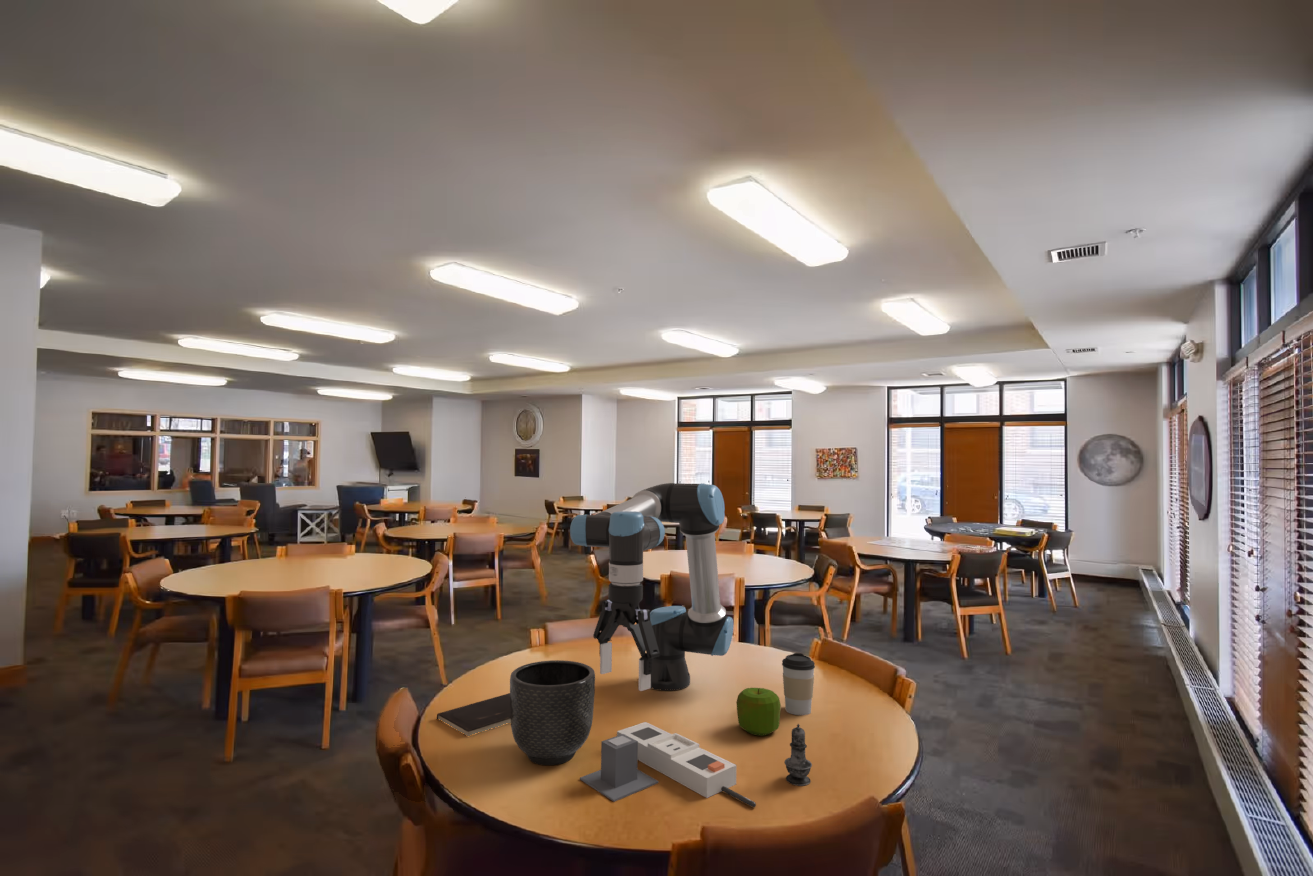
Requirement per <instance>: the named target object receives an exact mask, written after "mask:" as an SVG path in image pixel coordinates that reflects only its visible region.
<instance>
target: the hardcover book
mask: <svg viewBox="0 0 1313 876" xmlns="http://www.w3.org/2000/svg"><path fill="white" fill-rule="evenodd" d="M437 719H440V720H442V721H443V722H445V723H447V724H449V725H450V726H452V727H453V728H455V729H457V730H458V731H460V732H462V733H464V734H465V735H467V736H470V735H472V734H475V733H478V732H482V731H485V730H488V729H491V728H494V729H496V728H495V727H497V728H499V727H498V726H501V725H503V724H506V723H510V724H511V719H510V692H509V693H505V694H502V695H501V694H500V695H499V696H495V697H491V698H487V699H484V700H481V701H477V702H473V703H470V704H466V705H462V706H460V707H456V708H452V709H449V710H445V711H442V712H438V713H437V714H436V720H437ZM440 720H439V721H440ZM443 722H442V723H443ZM445 723H444V724H445ZM450 726H449V727H450ZM452 727H451V728H452ZM501 727H502V726H501ZM453 728H452V729H453ZM455 729H454V730H455ZM457 730H456V731H457ZM491 730H492V729H491ZM458 731H457V732H458ZM488 731H489V730H488ZM460 732H459V733H460ZM485 732H486V731H485ZM462 733H461V734H462ZM482 733H483V732H482ZM465 735H464V736H465ZM467 736H466V737H467ZM470 737H471V736H470Z"/></svg>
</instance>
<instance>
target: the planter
mask: <svg viewBox="0 0 1313 876" xmlns="http://www.w3.org/2000/svg"><path fill="white" fill-rule="evenodd" d="M509 678H510V679H509V693H510V719H511V723H510V728H511V733H512V736H513V740H514V742H515V744H516V745H517V747H518V749H520V750H521V751H522V752H523V753H524V754H526V756H527V758H528V759H529V761H530V762H532V763H534V764H537V765H540V766H556V765H557V766H558V765H561V764H564V763H567V762H569V761H570V760H572V759H573V758H574V756H575V755H576V753H577V752H578V750H580V749H581V747H582V746H584V744H585V743H586V741H587V740H588V738H589V735H590V733H591V729H592V726H593V725H592V724H593V719H594V708H595V707H594V706H595V692H596V689H595V688H596V673H595V670H594V668H593V667H592V666H590V665H588V664H586V663H584V662H583V663H582V662H579V661H573V660H562V659H561V660H558V659H557V660H542V661H535V662H531V663H526V664H524V665H521V666H519V667H517V668H515V669H514V670H512V672H511V674H510V677H509Z"/></svg>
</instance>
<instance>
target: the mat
mask: <svg viewBox="0 0 1313 876" xmlns="http://www.w3.org/2000/svg"><path fill="white" fill-rule="evenodd" d="M579 780H580V781H581V782H583V783H584V784H586V785H587V786H589V787H591V788H592V789H594V790H596V792H597V793H600V794H601V795H602V796H604V797H605V798H607V799H608V800H611V801H612V802H614V803H615V802H617V801H619V800H622V799H624V798H626V797H628V796H631V795H634V794H637V793H638V792H641V791H643V790H645V789H648V788H650V787H652V786H656V785H658V784H659V780H658V779H656V778H654V777H652V776H650V775H648V774H647V773H645V772H643V771H642V770H640V769H638V768H637V780H634V781H632V782H629V783H627V784H624V785H622V786H620V787H617V788H614V787H612V786H611V785H609V784H607V783H606V782H604V781H603V780H601V769H599V770H596V771H594V772H592V773H589V774H586V775H583V776H581V777H579Z"/></svg>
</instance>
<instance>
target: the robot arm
mask: <svg viewBox="0 0 1313 876" xmlns="http://www.w3.org/2000/svg"><path fill="white" fill-rule="evenodd" d="M725 510H726V509H725V500H724V497H723V494H722V491H721V490H720V488H719V487H718V486H717V485H714V484H707V483H702V482H701V483H680V482H679V483H676V482H675V483H674V482H668V483H661V484H657V485H653V486H650V487H648V488H645V489H642V490H640V491H638V492H636V493H635V494H633V496H632V498H629V499H627V500H626V501H623V502H621V503H618V504H617V505H614V506H612V507H610V508H607V509H605V510H602V511H600V512H598V513H595V514H578V515H575V516H574V518H573V519H572V521H571V523H570V526H569V527H570V528H569V529H570V530H569V533H570V534H569V535H570V539H571V542H572V543H573V544H574V545H576V546H582V547H586V548H587V547H593V548H608V551H609V552H608V557H609V559H608V581H609V582H610V583H609V584H608V595H607V596H608V599H606V600H605V599H604V600H603V601H602V604H601V611H600V613H599V617H598V620H597V623H596V626H595V629H594V632H593V634H592V635H593V638H594V639H595V640H597V642H598V643H599V661H600V662H599V674H600V675H605V674H609V673H612V671H613V670H612V669H613V668H612V667H613V666H612V665H613V663H612V661H613V659H612V658H613V657H612V656H613V643H612V637H613V636H614V634H615V633H616V631H617V629H618V627H620V626H622V627H624V628H626V629H627V631H628V632H630V634H631V636H632V639H633V640H634V643H635V645H636V648H637V650H638V652H639V655H640V656H641V657H640V658H638V691H640V692H643V691H646V690H656V691H665V692H666V691H679V690H682V689H683V690H684V689H686V688H687V687H689V686H690V685H691V675H690V672H689V667H688V665H687V661H686V653H694V654H699V655H700V654H701V655H708V656H709V655H710V657H711V656H712V657H713V656H721V657H723V656H725V655H726V654H727V653H728V651H729V650H730V648H731V643H732V639H733V634H734V619H733V617H731V616H727V610H726V607H724V606H723V605H722V604H721V598H720V586H719V582H720V581H719V574H718V573H719V572H718V571H719V570H718V560H717V559H718V558H717V547H716V535H715V534H716V533H717V532H718V531H719V529H720V525H722V524H723V523H724V521H725ZM664 523H672V524H679V532H680V533H682V534H683V535H684V536H685V541H686V542H685V544H686V555H687V565H688V577H689V587H690V588H689V589H690V597H691V607H690V608H689V609H688V611H687V609H686V607H685V606H682V605H670V606H663V607H658V608H655V609H652V610H650V609H648V608H645V609H641V608H640V603H641V602H642V600H643V596H644V595H643V594H644V592H643V591H644V588H643V587H644V585H643V583H642V582H643V581H644V551H647V550H652V549H654V548H656V547H658V546H659V545H660V544H661V543H662V542H663V540H664V538H665V536H666V535H665V534H666V531H665V526H664Z"/></svg>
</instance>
